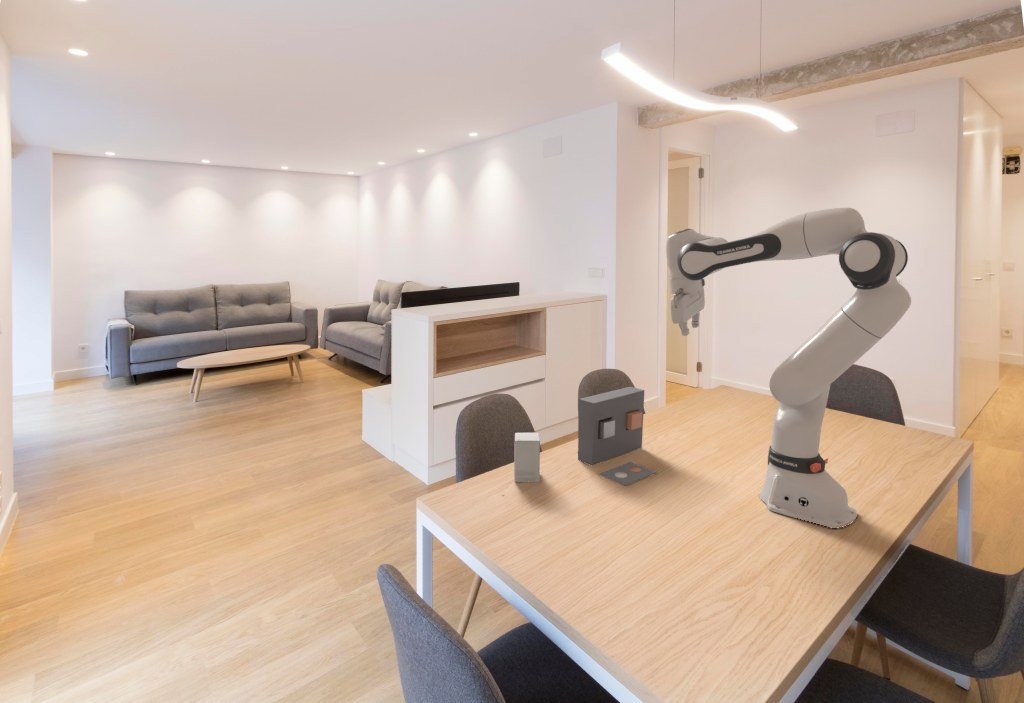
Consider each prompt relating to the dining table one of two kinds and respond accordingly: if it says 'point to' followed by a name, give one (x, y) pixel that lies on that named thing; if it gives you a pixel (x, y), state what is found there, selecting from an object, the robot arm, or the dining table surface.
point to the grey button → (606, 428)
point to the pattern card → (627, 473)
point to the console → (616, 409)
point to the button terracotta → (633, 420)
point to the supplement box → (527, 457)
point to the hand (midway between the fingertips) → (690, 331)
